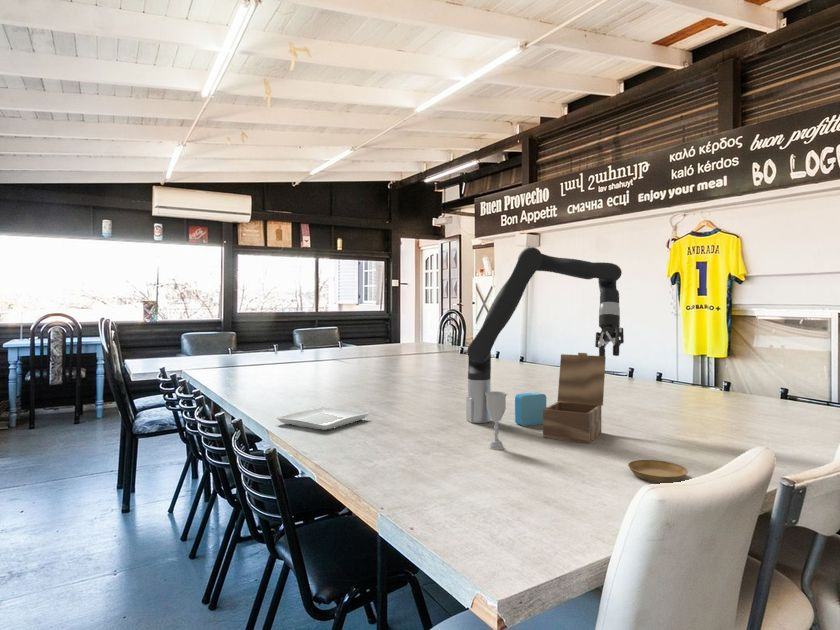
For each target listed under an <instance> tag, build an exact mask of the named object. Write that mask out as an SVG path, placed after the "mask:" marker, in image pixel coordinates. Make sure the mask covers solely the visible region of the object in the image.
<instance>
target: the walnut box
mask: <svg viewBox="0 0 840 630" xmlns="http://www.w3.org/2000/svg"><path fill="white" fill-rule="evenodd" d="M542 427H543V428H542V432H543V433H542V434H543V435H542V437H543V438H544V437H546V438H545V439H551V438H553V439H554V440H559V439H561V441H566V440H567V441H568V442H574V441H575V442H576V443H581V442H583V443H584V444H589V443H590V442H591V441H592V440H593V441H594V440H596V439H597V437H598V436H599V435H601V433H602V406H601V405H592V404H581V403H570V402H559V401H558V400H557V401H555V402H554V403H553V404H550V405H548V406H546V408H545V409H543V424H542ZM553 439H552V440H553ZM593 441H592V442H593ZM592 442H591V443H592ZM591 443H590V444H591Z"/></svg>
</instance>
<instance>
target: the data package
mask: <svg viewBox="0 0 840 630" xmlns="http://www.w3.org/2000/svg"><path fill="white" fill-rule="evenodd" d="M545 408H547V395H546V394H545V393H542V392H537V391H536V392H528V393H527V392H526V393H525V392H524V393H517V394H516V395H515V396H514V422H515V423H516V424H517V425H520V426H522V427H529V426H528V425H530V426H536V425H537V424H539V425H543V409H545Z"/></svg>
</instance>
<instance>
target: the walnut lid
mask: <svg viewBox="0 0 840 630" xmlns="http://www.w3.org/2000/svg"><path fill="white" fill-rule="evenodd" d="M559 361H560V363H559V365H560V366H559V376H558V377H559V378H558V391H557V402H558V401H559V402H570V403H581V404H592V405H601V407H603V406H604V392H605V376H606V375H605V374H606V355H605V356H599V355H588V353H587V352H578V353H577V354H562V353H561V354H560V360H559Z"/></svg>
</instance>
